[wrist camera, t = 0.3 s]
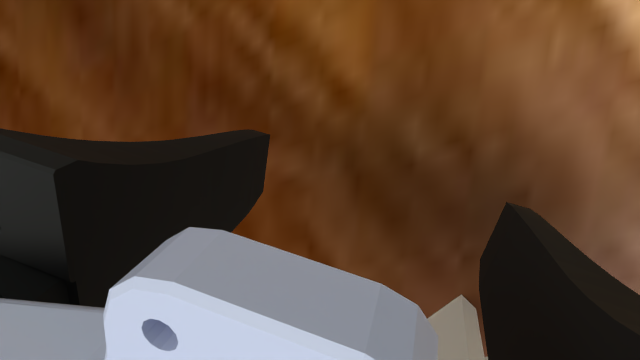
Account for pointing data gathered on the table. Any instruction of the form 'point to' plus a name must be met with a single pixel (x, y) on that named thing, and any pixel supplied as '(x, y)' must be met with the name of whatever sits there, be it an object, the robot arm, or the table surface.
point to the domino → (458, 331)
